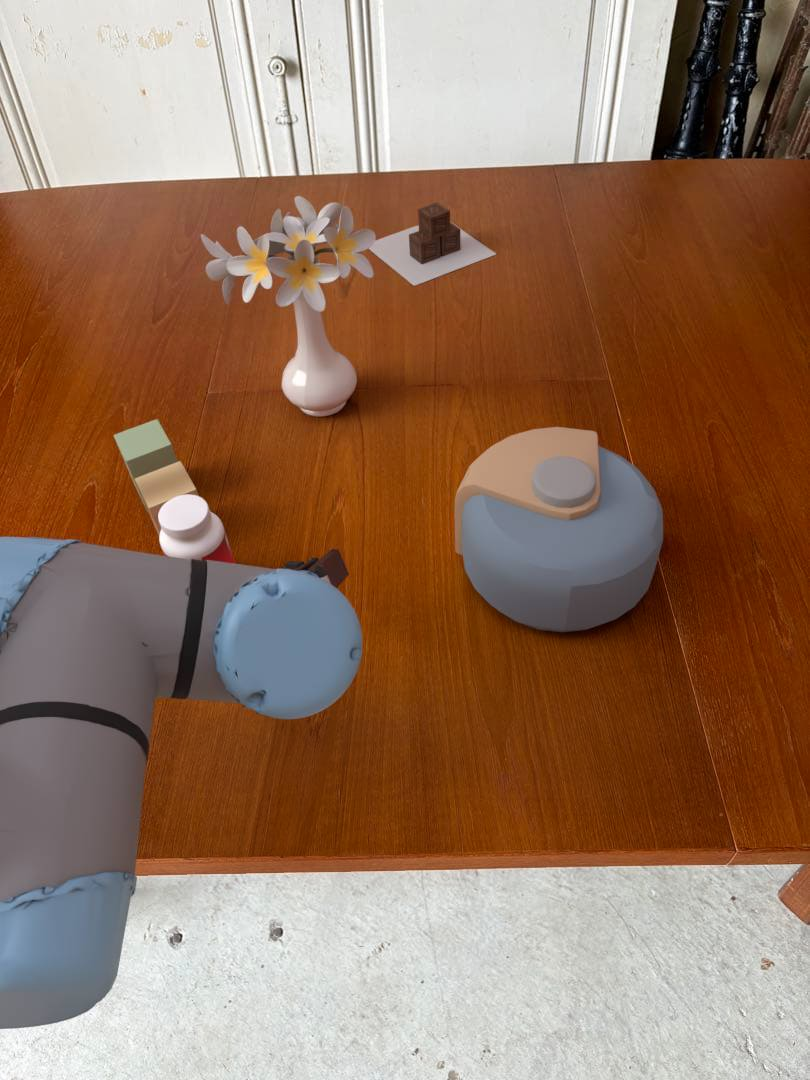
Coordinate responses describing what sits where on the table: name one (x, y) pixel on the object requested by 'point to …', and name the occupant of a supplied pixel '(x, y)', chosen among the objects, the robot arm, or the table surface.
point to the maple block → (164, 488)
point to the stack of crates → (430, 247)
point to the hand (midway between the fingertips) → (225, 606)
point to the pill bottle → (192, 531)
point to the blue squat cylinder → (557, 529)
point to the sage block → (145, 450)
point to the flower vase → (302, 293)
